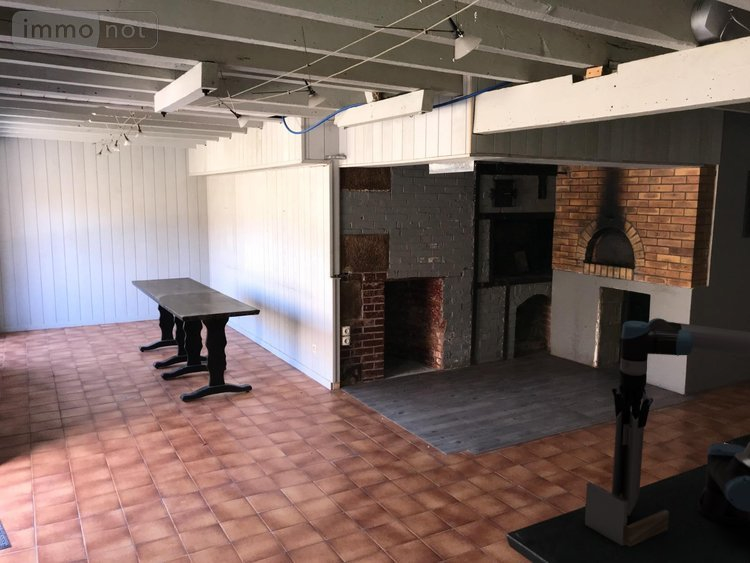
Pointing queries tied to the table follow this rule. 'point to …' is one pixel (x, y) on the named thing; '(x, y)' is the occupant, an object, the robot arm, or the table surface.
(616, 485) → the brochure
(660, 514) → the slot rails
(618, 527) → the bookend
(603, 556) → the table surface
